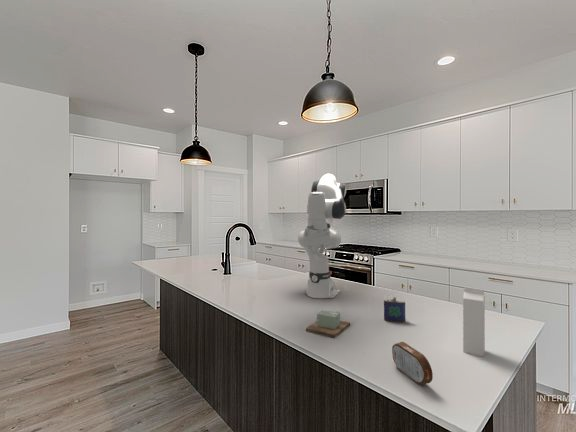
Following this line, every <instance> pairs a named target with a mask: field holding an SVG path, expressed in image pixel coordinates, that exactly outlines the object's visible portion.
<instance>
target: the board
mask: <svg viewBox="0 0 576 432" xmlns="http://www.w3.org/2000/svg"><path fill="white" fill-rule="evenodd" d="M350 326H351V321H350V322H349V321H346V320H341V319H340V325H339V326H338V327H337V328H336V329H331V328H326V327H321V326H317V320H316V321H314V323H312V324H310V325H309V326H307V327H305V331H306V332H309V333H312V334H317V335H321V336H324V337H329V338H333V339H335V338H337V337H338V336H339V335H340V334H342V333H343V332H344V331H345V330H346V329H348V328H349V327H350Z"/></svg>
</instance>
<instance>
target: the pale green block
mask: <svg viewBox="0 0 576 432" xmlns="http://www.w3.org/2000/svg"><path fill="white" fill-rule="evenodd" d="M316 316H317V317H316V321H317V326H321V327H326V328H331V329H336V328H337V327H338V326H339V325H340V320H341V313H340V312H338V311H332V310H331V311H330V310H325V309H322V310H320V311H319V312H318V313H316Z"/></svg>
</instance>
